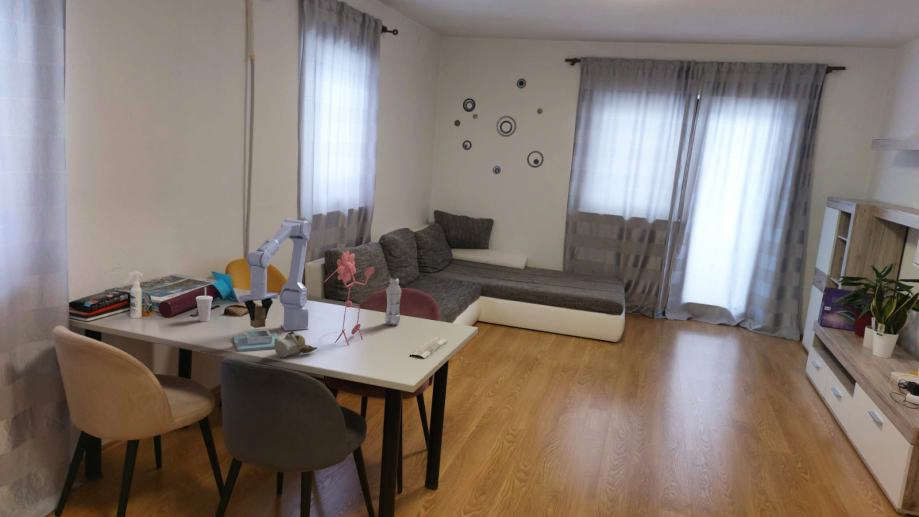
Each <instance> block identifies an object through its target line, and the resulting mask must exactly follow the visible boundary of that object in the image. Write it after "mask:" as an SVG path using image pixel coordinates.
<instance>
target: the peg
mask: <svg viewBox="0 0 919 517" xmlns="http://www.w3.org/2000/svg"><path fill="white" fill-rule="evenodd" d="M249 321H250V324H249V325H250V326H251V327H253V328H254V329H259V328H265V327H266V319H265V308H264V307H262V305H260V306H256V307H255V318H254V321H252V320H250V319H249Z"/></svg>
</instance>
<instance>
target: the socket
mask: <svg viewBox="0 0 919 517" xmlns="http://www.w3.org/2000/svg"><path fill="white" fill-rule="evenodd" d="M270 333H271V332H270V331H269V329H260V330H245V331H244V334H243V335H244V338H245V340H246V342H247V345H253V344H266V343H272V335H271V334H270Z"/></svg>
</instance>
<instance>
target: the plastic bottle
mask: <svg viewBox="0 0 919 517" xmlns="http://www.w3.org/2000/svg"><path fill="white" fill-rule="evenodd" d="M389 283H390V284H389V285H388V287H387V288H386V313H385V315H384V316H385V317H384V322H385V324H386V325H389V326H396V325H398V324H400V320H401V314H400V303H401V298H402V297H401V296H402V288H401V286H400V285H399V284H400V279H399V278H398V277H391V278H390V279H389Z"/></svg>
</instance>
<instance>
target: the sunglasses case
mask: <svg viewBox="0 0 919 517" xmlns="http://www.w3.org/2000/svg"><path fill="white" fill-rule="evenodd" d="M253 302H254V303H255V304H256V306H261V304H258V303H257V302H255V301H253ZM256 306H255V307H256ZM223 310H224V311H223V314H224V315H225V316H229V317H236V318H237V317H238V318H241V317H244V316H246V315H249V312H248V309H247V307H246V305H245V303H244V302H243V303H239V302H238V303H236V304H230V305H228V306H226V307H225V308H224V309H223Z"/></svg>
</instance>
